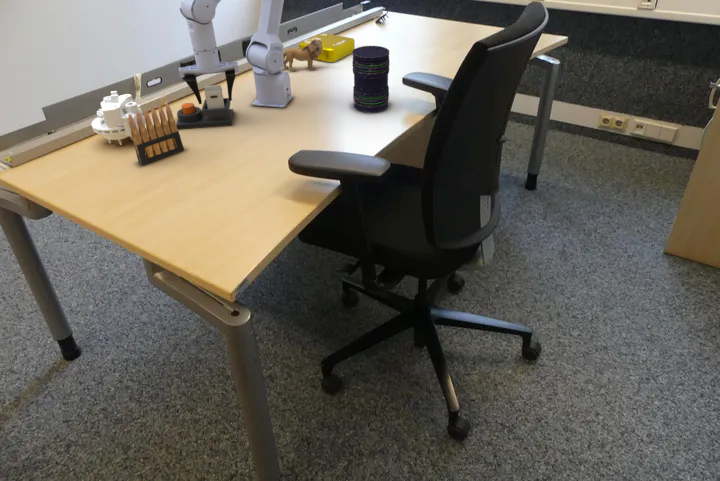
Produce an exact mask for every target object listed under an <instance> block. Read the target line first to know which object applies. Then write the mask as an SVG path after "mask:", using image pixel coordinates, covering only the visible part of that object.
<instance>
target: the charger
mask: <svg viewBox="0 0 720 481" xmlns="http://www.w3.org/2000/svg"><path fill="white" fill-rule="evenodd" d="M203 88H204V97H205V99H206V102H207V107H208V109H218V108H225V106H224V100H223V98H224V95H223V90H222V85H221V84H214V85H212V84H211V85H204V86H203Z"/></svg>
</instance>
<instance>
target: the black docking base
mask: <svg viewBox="0 0 720 481" xmlns="http://www.w3.org/2000/svg"><path fill="white" fill-rule="evenodd" d="M195 111H196V112H195V113H193V114H183V110H182V108H180V109H179V110H177V112H176V115H177V120H176V126H177V130H183V129H198V128H199V129H200V128H212V127H226V126H227V127H228V126H232V125H233V120H234V113H235V112H234V109H233V108H230V109H229V114H223V115H209V116H203V114H202V108H200V107H199V106H195Z"/></svg>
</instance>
